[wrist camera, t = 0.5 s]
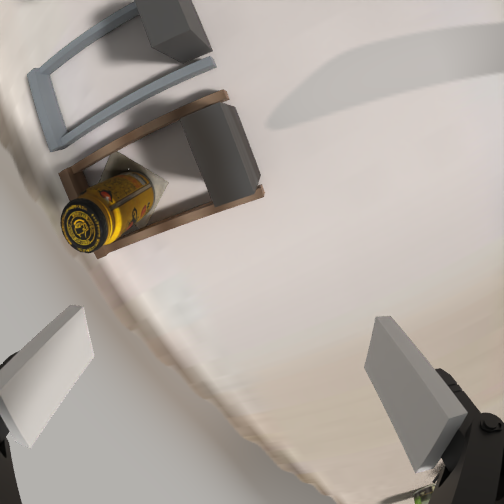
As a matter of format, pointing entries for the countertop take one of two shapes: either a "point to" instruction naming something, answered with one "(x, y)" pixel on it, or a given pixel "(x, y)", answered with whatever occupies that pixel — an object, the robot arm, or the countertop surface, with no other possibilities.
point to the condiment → (112, 204)
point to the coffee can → (424, 494)
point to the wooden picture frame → (206, 155)
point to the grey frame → (164, 40)
